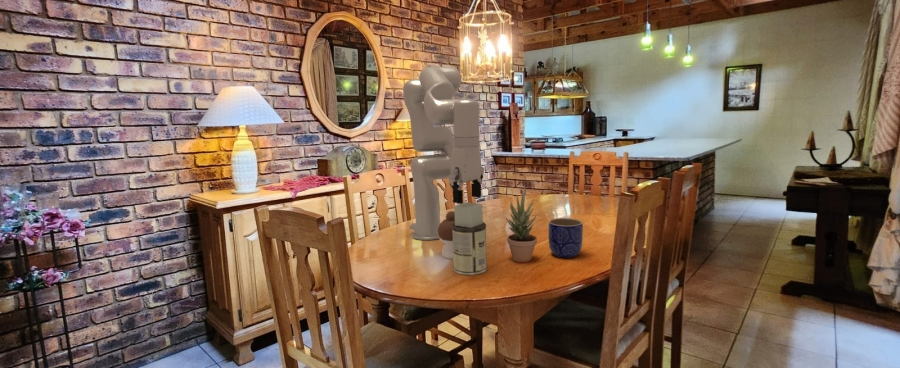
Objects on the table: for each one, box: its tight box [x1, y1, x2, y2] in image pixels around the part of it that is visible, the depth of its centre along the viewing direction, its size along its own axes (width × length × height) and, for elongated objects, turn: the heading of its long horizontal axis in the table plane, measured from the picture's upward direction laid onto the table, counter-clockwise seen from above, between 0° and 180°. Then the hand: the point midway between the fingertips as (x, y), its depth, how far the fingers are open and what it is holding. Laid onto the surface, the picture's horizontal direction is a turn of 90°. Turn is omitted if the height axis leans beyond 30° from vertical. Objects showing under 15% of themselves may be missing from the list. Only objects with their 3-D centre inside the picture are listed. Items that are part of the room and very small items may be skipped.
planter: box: [547, 217, 584, 259], centre depth 149 cm, size 11×11×11 cm
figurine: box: [438, 210, 455, 260], centre depth 152 cm, size 10×9×15 cm
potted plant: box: [505, 183, 538, 263], centre depth 145 cm, size 10×10×25 cm
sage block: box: [454, 201, 484, 228], centre depth 136 cm, size 6×6×6 cm
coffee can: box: [452, 221, 488, 276], centre depth 137 cm, size 10×10×14 cm
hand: (467, 199), depth 136 cm, fingers open, 9 cm apart
